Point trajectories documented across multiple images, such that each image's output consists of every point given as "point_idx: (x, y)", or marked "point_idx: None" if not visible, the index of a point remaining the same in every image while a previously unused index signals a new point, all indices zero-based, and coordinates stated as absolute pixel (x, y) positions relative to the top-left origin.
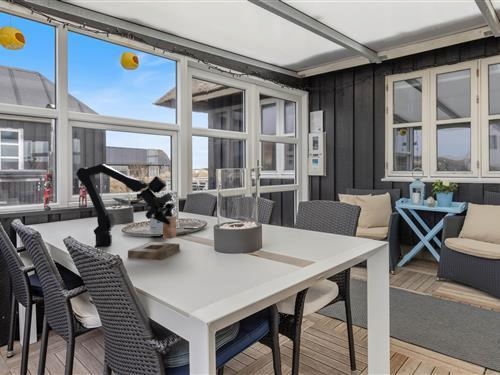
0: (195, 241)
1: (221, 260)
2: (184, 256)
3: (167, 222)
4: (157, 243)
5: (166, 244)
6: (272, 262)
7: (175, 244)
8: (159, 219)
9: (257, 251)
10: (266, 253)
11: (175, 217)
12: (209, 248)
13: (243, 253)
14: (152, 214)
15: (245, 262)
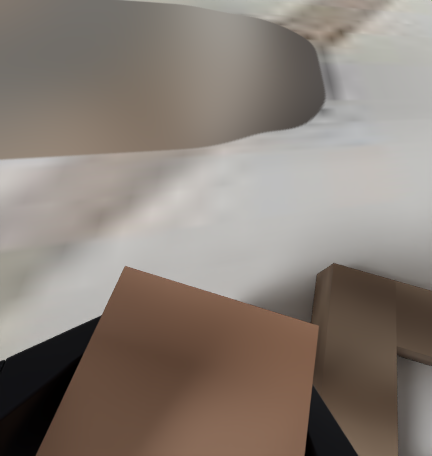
0: (103, 220)
1: (428, 105)
2: (422, 230)
3: None
4: None
5: (365, 354)
6: (402, 11)
7: (352, 286)
8: None
9: (295, 27)
10: (315, 13)
11: (143, 274)
12: (264, 146)
13: (326, 55)
14: None
15: (425, 54)
